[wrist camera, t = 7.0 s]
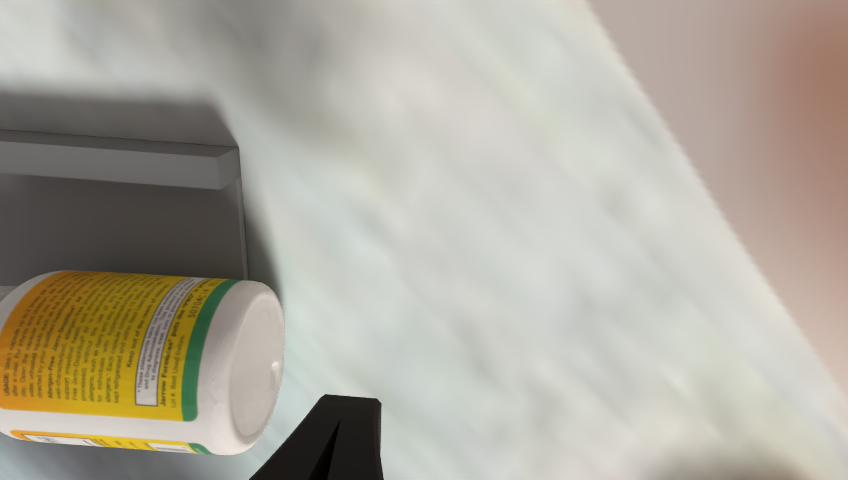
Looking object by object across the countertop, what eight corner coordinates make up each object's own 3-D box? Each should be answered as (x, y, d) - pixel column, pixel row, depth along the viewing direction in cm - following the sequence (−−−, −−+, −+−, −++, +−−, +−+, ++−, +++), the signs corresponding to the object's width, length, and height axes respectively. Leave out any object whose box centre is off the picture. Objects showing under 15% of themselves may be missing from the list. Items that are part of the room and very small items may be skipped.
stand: (257, 393, 20) (241, 421, 19) (-6, 369, 21) (-42, 394, 19) (238, 147, 16) (217, 157, 15) (-82, 123, 17) (-134, 131, 15)
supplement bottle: (245, 494, 15) (-58, 473, 15) (296, 363, 20) (60, 350, 20) (206, 364, 12) (-163, 343, 13) (276, 247, 17) (2, 235, 17)
